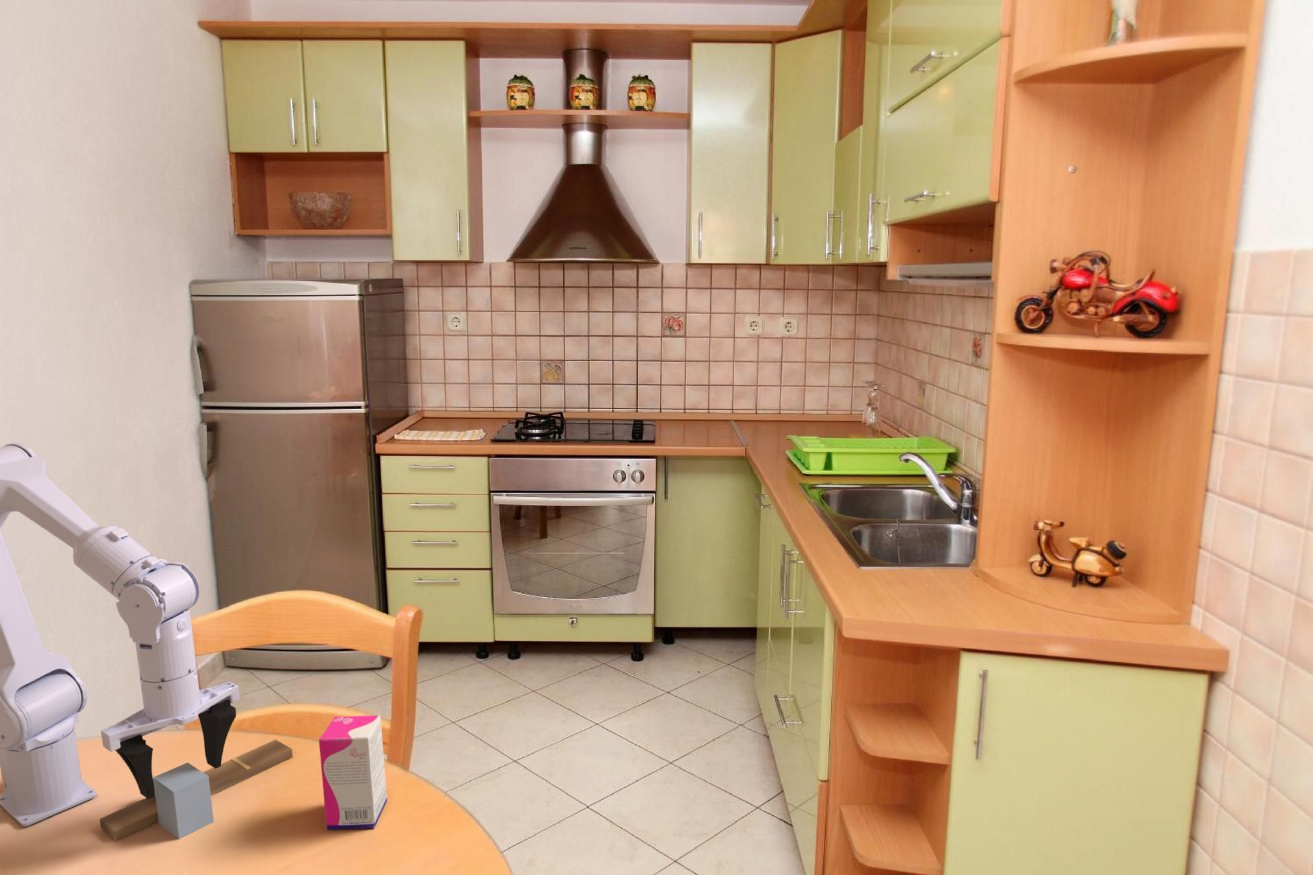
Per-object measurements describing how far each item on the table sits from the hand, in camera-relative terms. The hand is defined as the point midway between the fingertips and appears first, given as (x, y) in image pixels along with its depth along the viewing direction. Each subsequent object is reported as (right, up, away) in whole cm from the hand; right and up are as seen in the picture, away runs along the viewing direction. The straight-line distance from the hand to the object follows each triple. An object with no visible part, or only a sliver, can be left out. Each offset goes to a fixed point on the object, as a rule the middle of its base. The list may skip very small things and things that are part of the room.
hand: (181, 779), depth 104 cm
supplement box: (+20, -5, +2) cm, 21 cm away
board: (-1, -4, +8) cm, 9 cm away
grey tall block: (-2, -5, +3) cm, 6 cm away
